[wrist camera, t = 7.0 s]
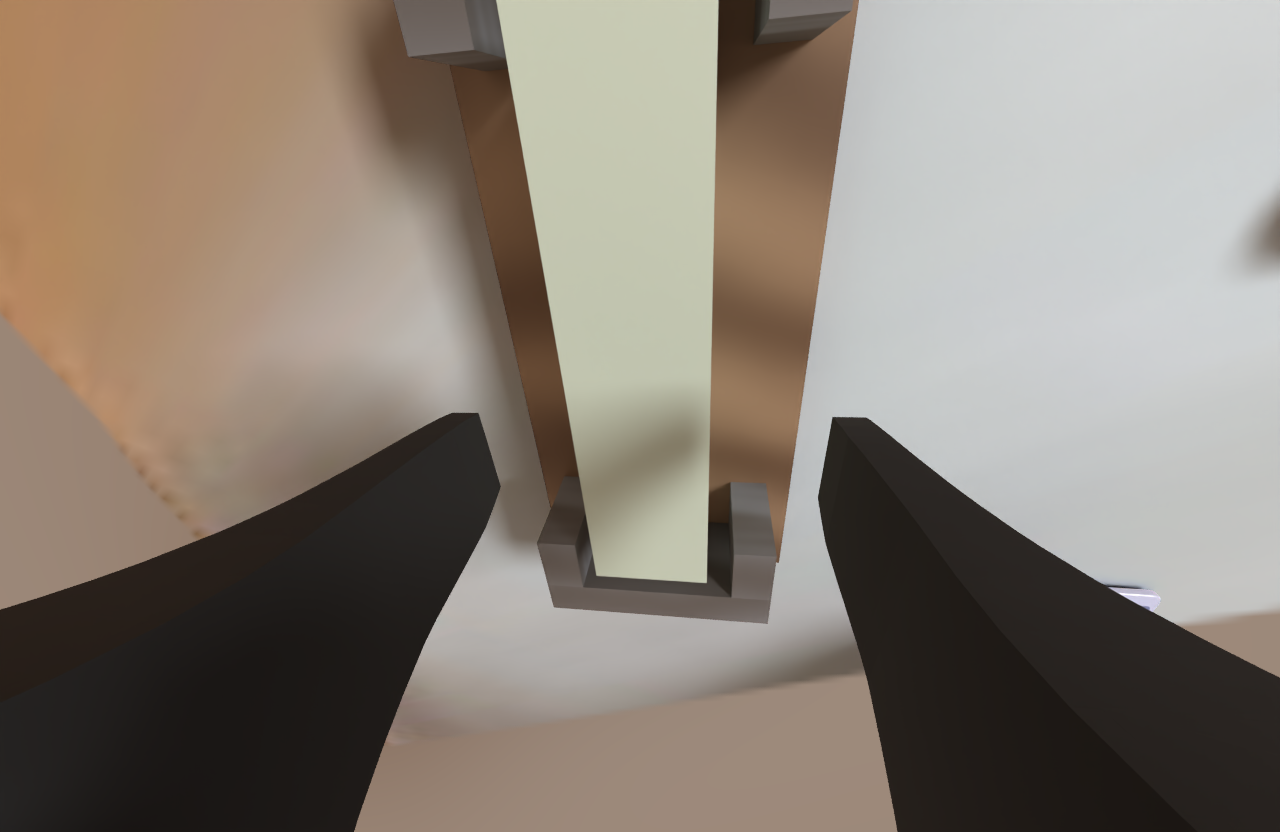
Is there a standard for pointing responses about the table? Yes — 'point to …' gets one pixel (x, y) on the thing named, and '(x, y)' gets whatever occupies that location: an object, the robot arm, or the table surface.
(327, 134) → the table surface
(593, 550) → the slat
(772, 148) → the cradle
